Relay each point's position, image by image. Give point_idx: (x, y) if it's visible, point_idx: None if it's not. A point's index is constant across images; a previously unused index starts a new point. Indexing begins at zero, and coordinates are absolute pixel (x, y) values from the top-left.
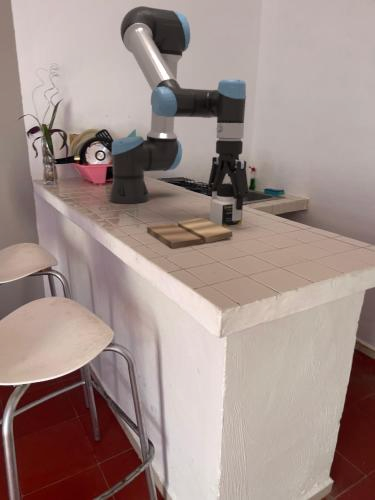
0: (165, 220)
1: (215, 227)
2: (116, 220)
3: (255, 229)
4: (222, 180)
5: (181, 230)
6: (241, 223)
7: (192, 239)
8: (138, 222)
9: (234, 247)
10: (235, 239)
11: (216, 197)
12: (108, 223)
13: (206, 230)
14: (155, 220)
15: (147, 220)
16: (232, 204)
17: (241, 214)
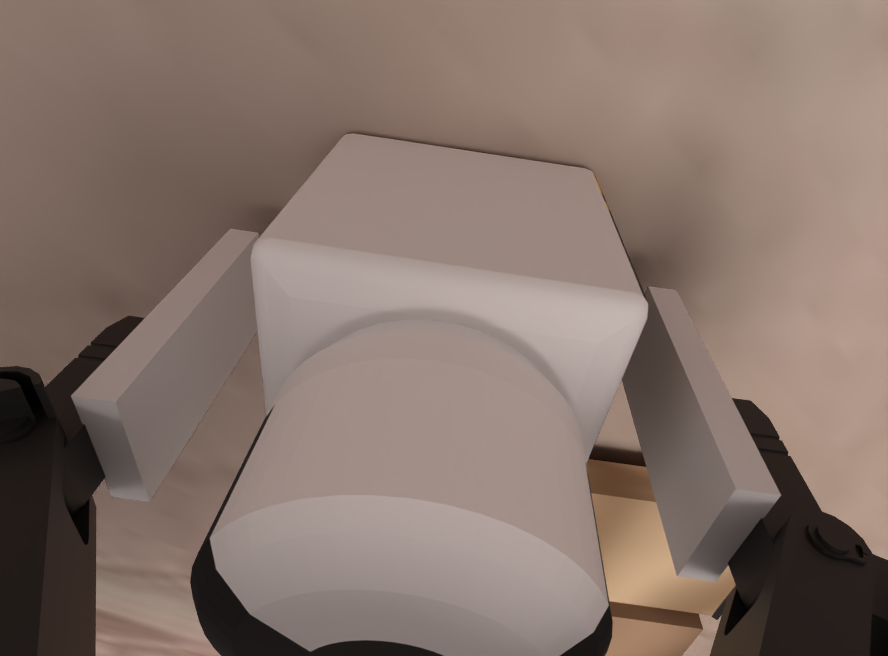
0: (178, 499)
1: (645, 529)
2: (115, 621)
3: (806, 160)
4: (49, 653)
5: None
6: (596, 178)
7: (678, 650)
8: (181, 588)
9: (881, 539)
10: (805, 459)
11: (183, 400)
12: (163, 650)
13: (634, 570)
14: (162, 530)
15: (150, 552)
16: (592, 442)
17: (695, 327)
